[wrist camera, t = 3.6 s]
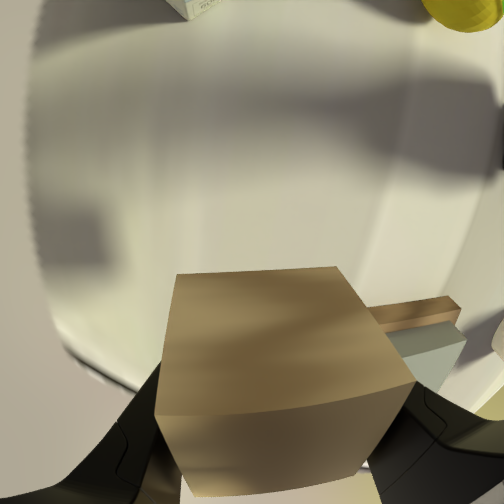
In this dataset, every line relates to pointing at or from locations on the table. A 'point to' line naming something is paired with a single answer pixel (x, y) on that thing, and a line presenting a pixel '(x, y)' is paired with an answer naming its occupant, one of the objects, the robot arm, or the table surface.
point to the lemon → (466, 13)
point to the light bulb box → (191, 7)
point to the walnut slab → (415, 313)
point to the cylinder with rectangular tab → (499, 340)
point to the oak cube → (274, 380)
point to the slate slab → (429, 351)
